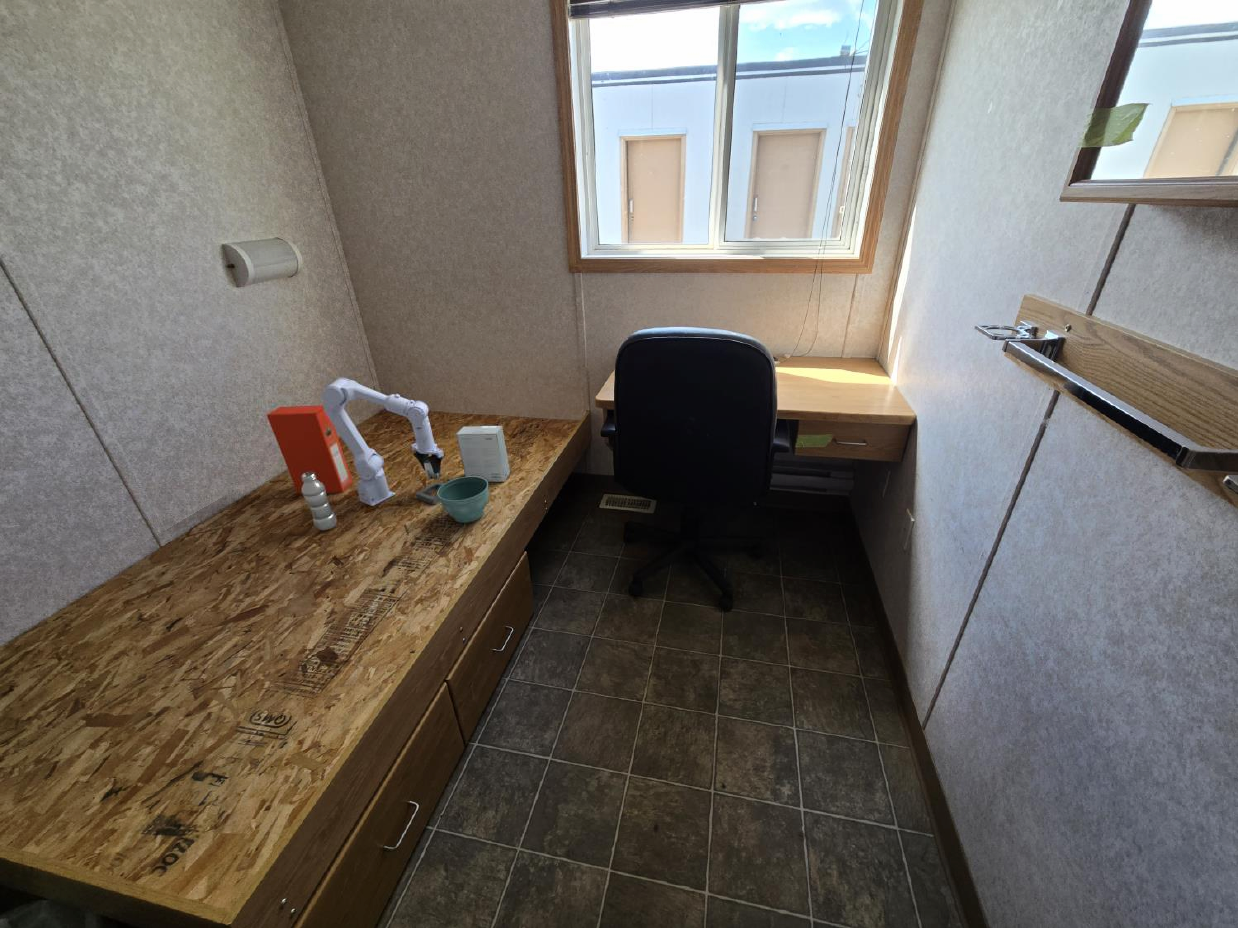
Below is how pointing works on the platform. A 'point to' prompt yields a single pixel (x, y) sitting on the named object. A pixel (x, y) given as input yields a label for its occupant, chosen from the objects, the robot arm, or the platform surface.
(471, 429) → the hard drive box
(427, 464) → the shiny metal cylinder
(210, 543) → the platform surface
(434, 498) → the grey rectangular frame
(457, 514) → the flower pot
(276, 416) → the file binder
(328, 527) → the plastic bottle
